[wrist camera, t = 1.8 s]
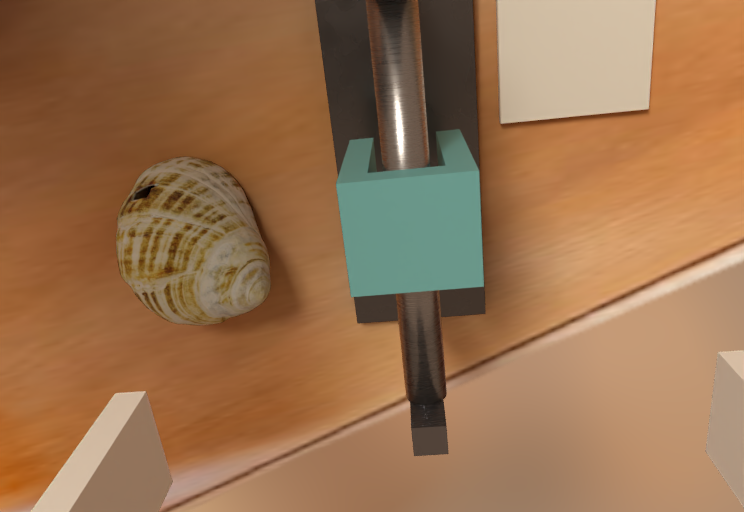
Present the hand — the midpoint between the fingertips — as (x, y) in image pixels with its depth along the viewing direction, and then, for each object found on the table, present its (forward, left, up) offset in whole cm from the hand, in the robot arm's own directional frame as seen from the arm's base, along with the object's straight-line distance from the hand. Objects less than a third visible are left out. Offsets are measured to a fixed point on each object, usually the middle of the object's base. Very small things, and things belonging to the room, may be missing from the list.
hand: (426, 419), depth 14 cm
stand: (0, 0, -28) cm, 28 cm away
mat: (-6, +10, -28) cm, 30 cm away
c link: (0, 0, -20) cm, 20 cm away
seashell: (+5, -14, -28) cm, 32 cm away
